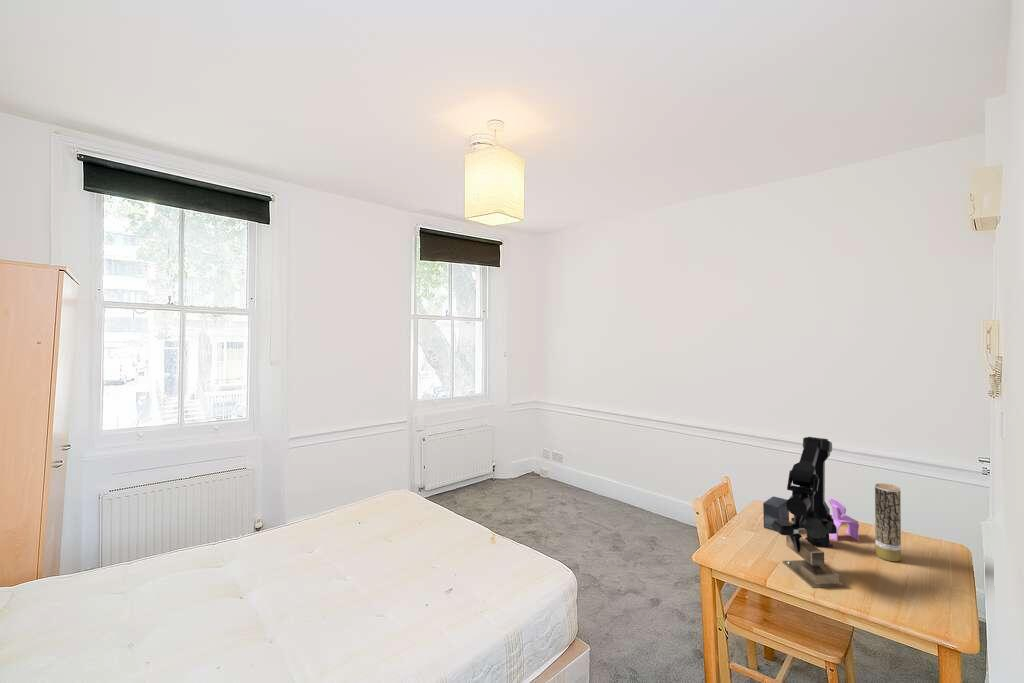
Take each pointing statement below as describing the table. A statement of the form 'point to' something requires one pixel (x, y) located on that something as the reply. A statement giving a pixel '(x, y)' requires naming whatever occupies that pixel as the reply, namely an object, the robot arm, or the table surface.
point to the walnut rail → (807, 551)
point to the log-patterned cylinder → (888, 522)
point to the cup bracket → (814, 574)
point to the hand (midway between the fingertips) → (804, 551)
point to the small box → (775, 511)
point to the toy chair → (843, 519)
